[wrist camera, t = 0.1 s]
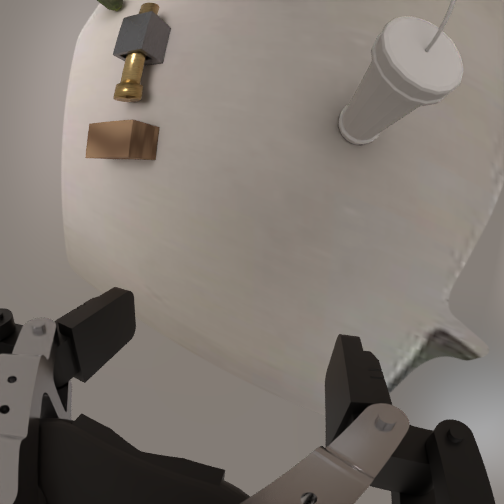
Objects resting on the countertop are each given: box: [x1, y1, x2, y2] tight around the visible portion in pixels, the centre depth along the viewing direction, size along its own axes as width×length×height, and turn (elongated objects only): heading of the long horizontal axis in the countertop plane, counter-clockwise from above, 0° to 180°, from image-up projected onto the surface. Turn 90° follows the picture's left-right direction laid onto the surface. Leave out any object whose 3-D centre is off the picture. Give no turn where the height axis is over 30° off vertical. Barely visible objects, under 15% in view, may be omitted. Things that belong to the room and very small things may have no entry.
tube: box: [114, 3, 159, 102], centre depth 31 cm, size 17×4×4 cm, turn 173°
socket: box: [86, 120, 159, 160], centre depth 36 cm, size 5×8×7 cm, turn 83°
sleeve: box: [113, 11, 171, 66], centre depth 32 cm, size 7×5×7 cm
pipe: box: [339, 0, 463, 145], centre depth 19 cm, size 6×6×30 cm
